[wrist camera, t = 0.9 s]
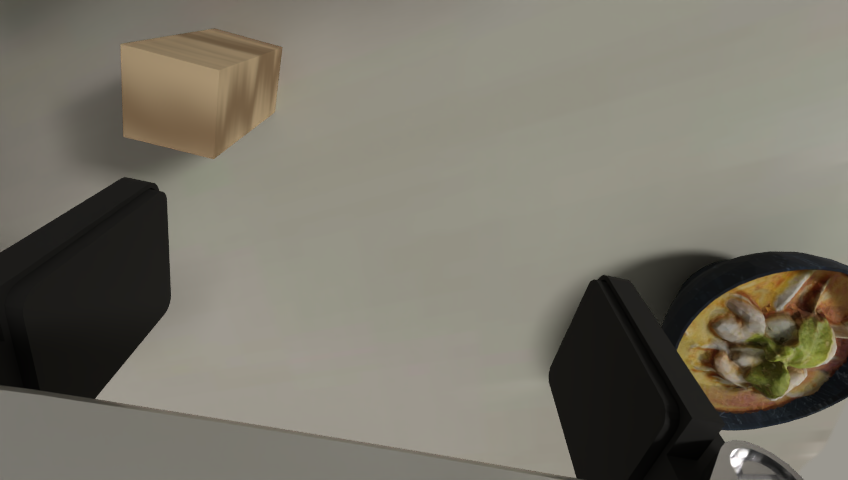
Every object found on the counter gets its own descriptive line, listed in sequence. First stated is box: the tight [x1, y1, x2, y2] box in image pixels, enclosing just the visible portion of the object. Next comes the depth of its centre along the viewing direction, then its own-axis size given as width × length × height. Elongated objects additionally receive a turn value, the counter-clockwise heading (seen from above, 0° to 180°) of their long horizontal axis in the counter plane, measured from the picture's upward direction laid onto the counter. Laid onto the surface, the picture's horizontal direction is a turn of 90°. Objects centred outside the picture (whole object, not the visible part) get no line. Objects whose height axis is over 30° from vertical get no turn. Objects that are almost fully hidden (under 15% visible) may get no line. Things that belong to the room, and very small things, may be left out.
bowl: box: [661, 252, 848, 430], centre depth 41 cm, size 17×17×10 cm
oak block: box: [121, 29, 282, 159], centre depth 31 cm, size 5×5×12 cm
